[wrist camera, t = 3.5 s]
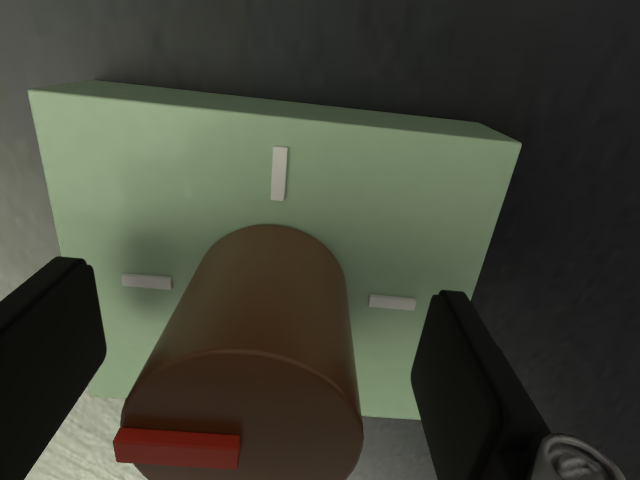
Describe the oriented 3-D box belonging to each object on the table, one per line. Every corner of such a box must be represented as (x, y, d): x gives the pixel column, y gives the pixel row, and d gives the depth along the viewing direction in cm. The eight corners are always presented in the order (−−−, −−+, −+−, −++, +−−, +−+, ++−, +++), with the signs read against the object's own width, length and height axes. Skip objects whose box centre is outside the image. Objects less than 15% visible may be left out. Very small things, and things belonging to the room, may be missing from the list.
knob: (356, 231, 11) (387, 376, 6) (336, 354, 13) (347, 538, 8) (193, 215, 11) (92, 353, 6) (198, 343, 12) (124, 526, 8)
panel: (479, 122, 13) (526, 144, 10) (413, 361, 17) (433, 425, 14) (91, 79, 12) (21, 89, 9) (127, 339, 16) (87, 401, 13)
